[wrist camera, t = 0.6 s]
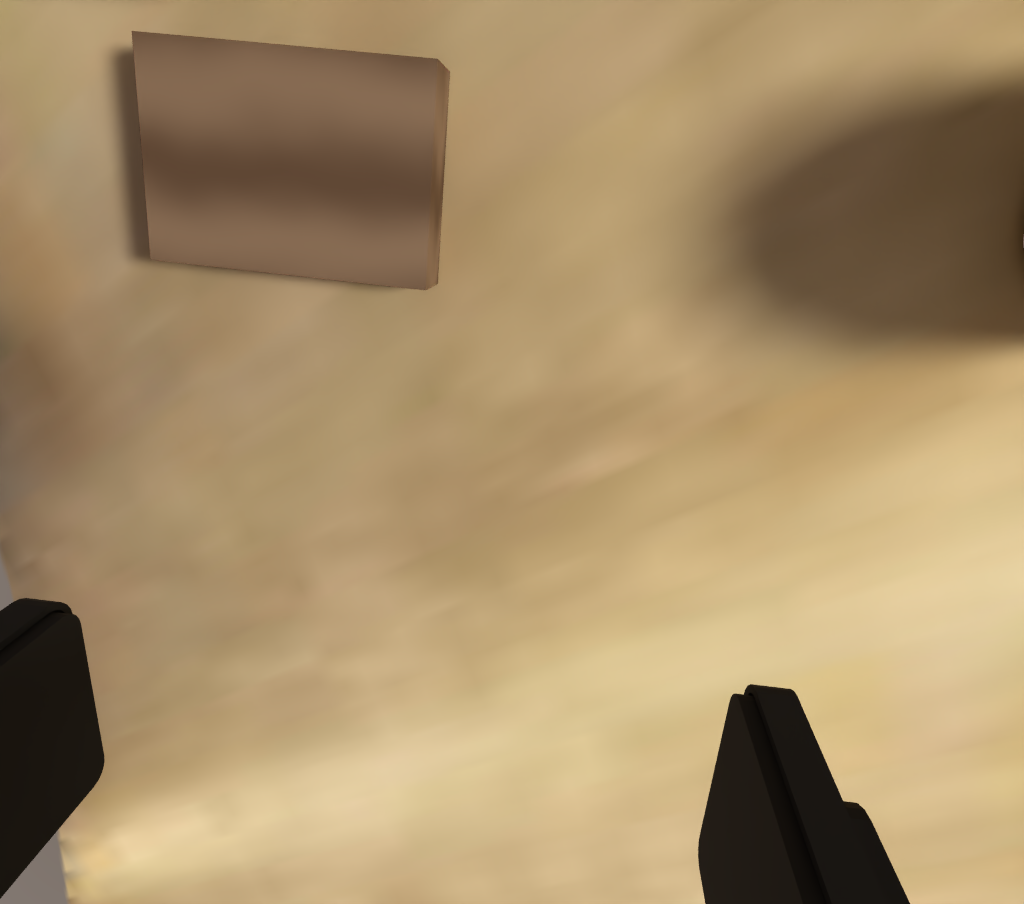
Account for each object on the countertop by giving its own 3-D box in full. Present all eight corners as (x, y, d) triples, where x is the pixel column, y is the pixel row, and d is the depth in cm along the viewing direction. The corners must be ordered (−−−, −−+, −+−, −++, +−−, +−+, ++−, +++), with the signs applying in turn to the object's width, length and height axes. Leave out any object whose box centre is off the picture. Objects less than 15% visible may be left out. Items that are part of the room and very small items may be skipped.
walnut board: (169, 45, 34) (131, 30, 31) (449, 71, 33) (437, 58, 30) (183, 255, 37) (150, 259, 34) (437, 283, 36) (425, 290, 33)
